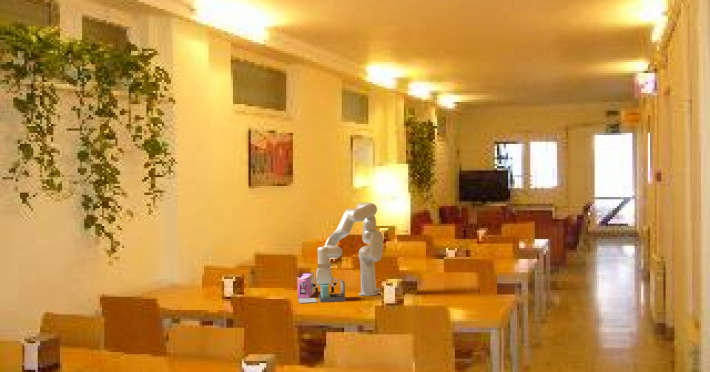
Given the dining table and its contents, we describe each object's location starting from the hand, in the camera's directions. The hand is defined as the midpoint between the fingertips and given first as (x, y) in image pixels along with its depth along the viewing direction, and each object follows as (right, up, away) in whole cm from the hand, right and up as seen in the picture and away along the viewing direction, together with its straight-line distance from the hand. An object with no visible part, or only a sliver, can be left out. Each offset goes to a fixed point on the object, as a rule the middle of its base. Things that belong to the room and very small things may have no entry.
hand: (324, 293), depth 514 cm
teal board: (0, -4, 0) cm, 4 cm away
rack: (+4, -4, +1) cm, 6 cm away
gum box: (-13, -5, +23) cm, 27 cm away
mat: (-11, -5, -1) cm, 12 cm away
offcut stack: (+9, -4, +1) cm, 10 cm away
